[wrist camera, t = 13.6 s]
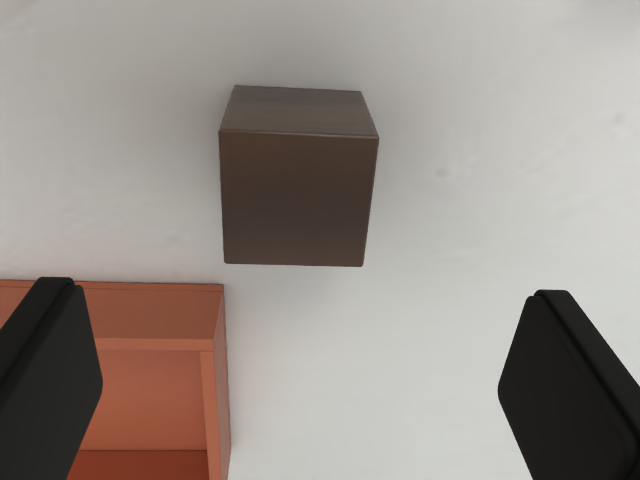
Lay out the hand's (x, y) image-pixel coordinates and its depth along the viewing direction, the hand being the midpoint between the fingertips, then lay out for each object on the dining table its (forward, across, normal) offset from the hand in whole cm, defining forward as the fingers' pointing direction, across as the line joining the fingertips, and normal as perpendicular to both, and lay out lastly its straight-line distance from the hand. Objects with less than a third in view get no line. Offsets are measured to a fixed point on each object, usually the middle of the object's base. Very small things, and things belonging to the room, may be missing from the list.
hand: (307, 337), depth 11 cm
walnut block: (+10, 0, 0) cm, 10 cm away
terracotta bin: (+10, +8, +12) cm, 17 cm away
